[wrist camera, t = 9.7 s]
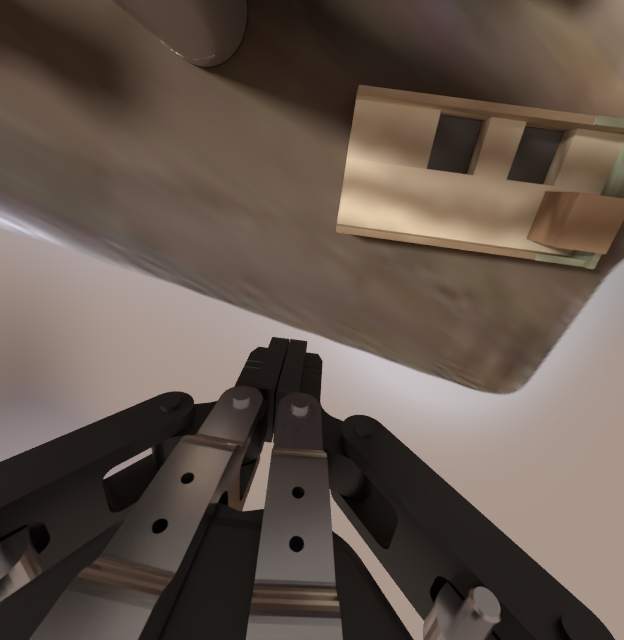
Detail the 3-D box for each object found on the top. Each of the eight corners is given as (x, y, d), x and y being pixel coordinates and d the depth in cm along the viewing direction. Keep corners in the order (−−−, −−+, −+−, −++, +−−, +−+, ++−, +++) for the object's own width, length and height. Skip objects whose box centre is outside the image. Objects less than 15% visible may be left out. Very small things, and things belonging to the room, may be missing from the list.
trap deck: (356, 95, 32) (359, 81, 28) (622, 130, 32) (670, 122, 27) (336, 227, 38) (336, 233, 33) (562, 258, 37) (594, 269, 33)
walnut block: (545, 191, 33) (579, 192, 28) (592, 197, 33) (634, 200, 28) (526, 238, 35) (554, 247, 30) (570, 244, 35) (605, 254, 30)
